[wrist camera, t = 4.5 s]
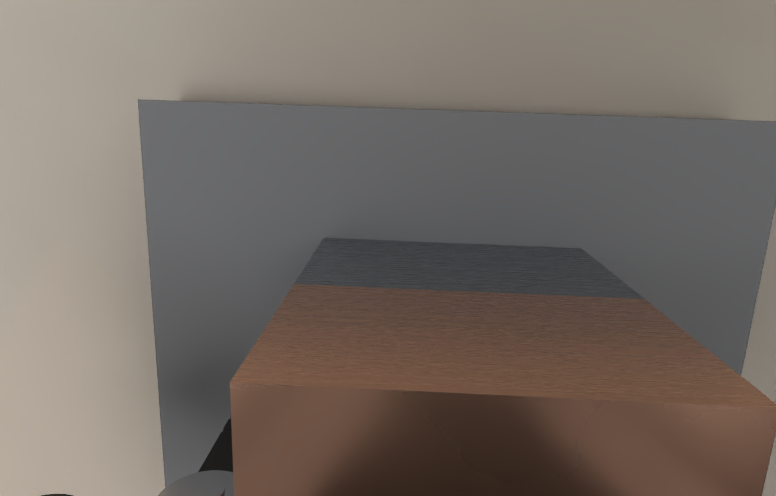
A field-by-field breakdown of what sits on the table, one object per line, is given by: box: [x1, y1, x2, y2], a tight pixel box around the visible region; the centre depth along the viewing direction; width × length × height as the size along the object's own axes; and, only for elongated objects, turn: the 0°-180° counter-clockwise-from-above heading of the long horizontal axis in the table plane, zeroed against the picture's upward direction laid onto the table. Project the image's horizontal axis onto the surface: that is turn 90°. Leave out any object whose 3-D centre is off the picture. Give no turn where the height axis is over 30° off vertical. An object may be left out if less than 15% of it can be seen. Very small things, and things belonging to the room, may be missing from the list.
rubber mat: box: [138, 100, 776, 488], centre depth 13 cm, size 12×12×2 cm
